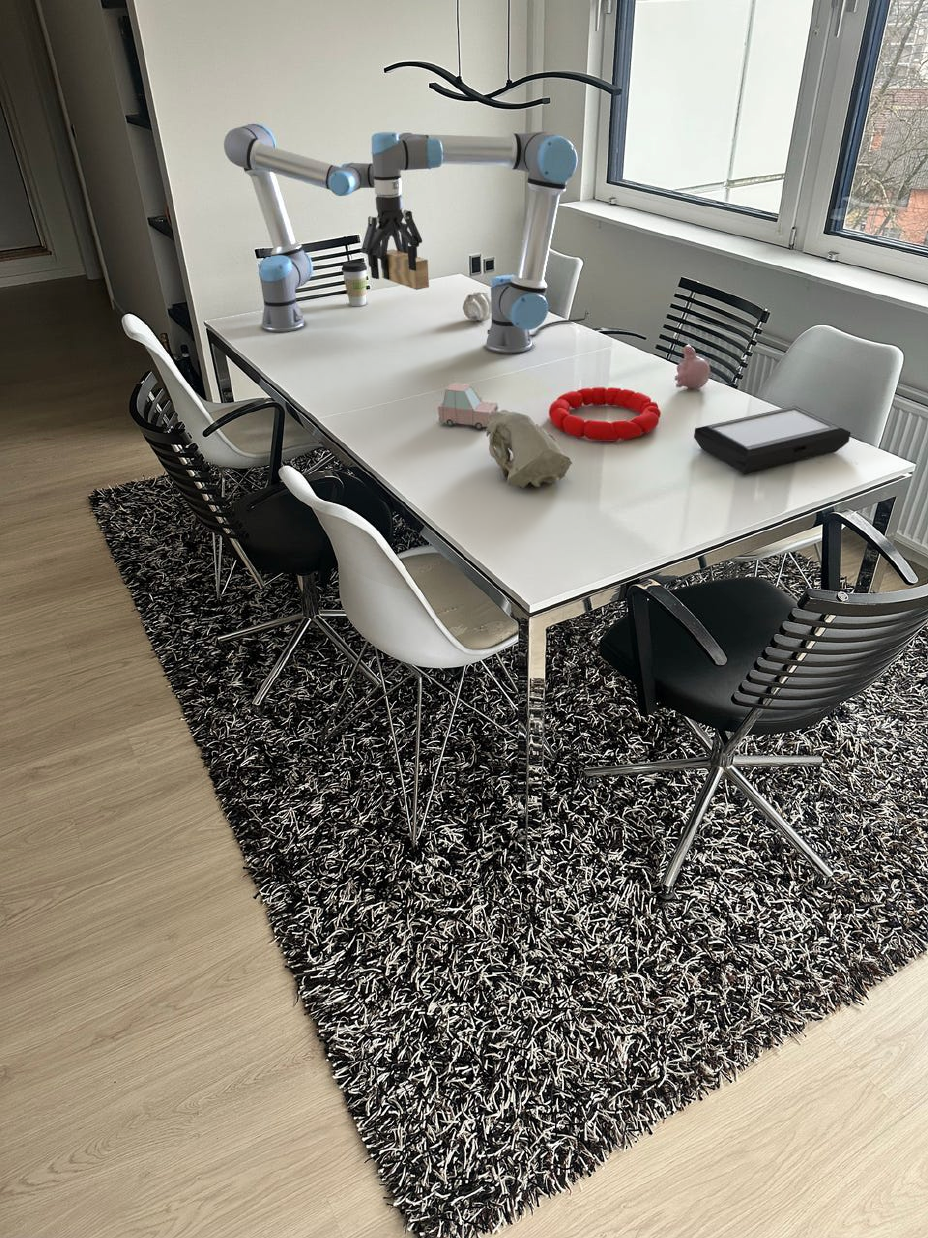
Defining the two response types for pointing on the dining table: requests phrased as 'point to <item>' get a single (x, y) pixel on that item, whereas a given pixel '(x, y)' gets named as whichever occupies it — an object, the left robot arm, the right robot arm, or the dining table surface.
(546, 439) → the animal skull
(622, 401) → the decorative ring
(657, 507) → the dining table surface
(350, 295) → the coffee cup
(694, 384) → the figurine
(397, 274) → the bar
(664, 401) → the dining table surface
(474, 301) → the seashell
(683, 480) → the dining table surface
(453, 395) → the toy car
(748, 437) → the electronic device
